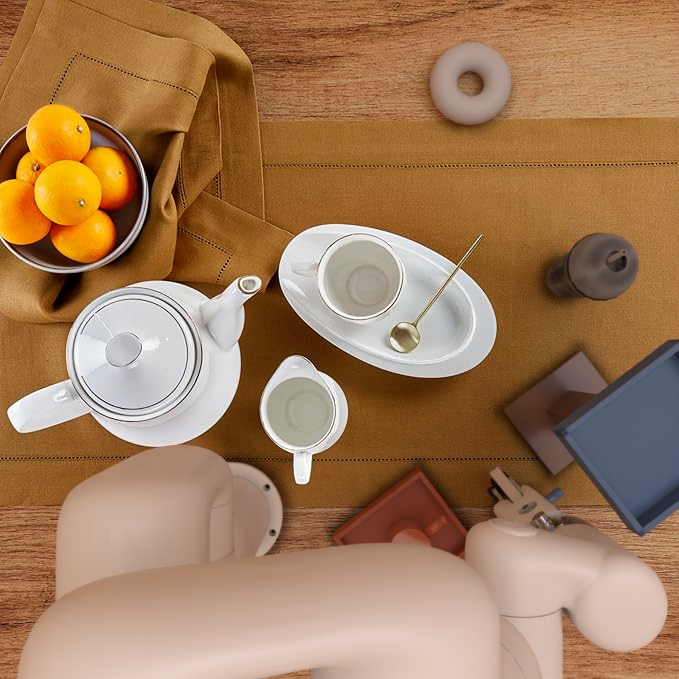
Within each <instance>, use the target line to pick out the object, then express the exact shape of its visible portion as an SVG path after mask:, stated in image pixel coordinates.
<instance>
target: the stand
mask: <svg viewBox="0 0 679 679" xmlns="http://www.w3.org/2000/svg"><path fill="white" fill-rule="evenodd" d="M609 385H610V384H608V382H607V381H606V380H605V378H604V377H603V376H602V375H601V374H600V372H599V371H598V370H597V369H596V367H595V366H594V364H593V363H592V362H591V361H590V359H589V358H588V356H586V354H585V353H584V351H583V350H577V351H576V352H575V353H573V354H572V355H571V356H569V357H568V358H567V359H566V360H564V361H563V362H562V363H561V364H559V365H558V366H557V367H555V368H554V369H553V370H551V371H550V372H548V373H547V374H546V375H545V376H544V377H542V378H541V379H539V380H538V381H536V383H534V384H533V385H531V387H529V388H527V390H525V391H524V392H523V393H521V394H520V395H519V396H518V397H516V398H515V399H513V400H512V401H510V403H508V404H507V405H506V406H504V407H502V409H501V411H502V413H503V414H504V415H505V416H506V418H507V419H508V420H509V421H510V423H511V424H512V425H513V426H514V428H515V429H516V431H517V432H518V433H519V435H520V436H521V437H522V439H524V441H525V442H526V444H527V445H528V446H529V447H530V449H531V450H532V452H534V454H535V455H536V457H537V458H538V459H539V460H540V462H541V463H542V464H543V465H544V467H545V469H546V470H547V471H548V472H549V474H550V475H551V476H553V477H554V476H556V475H558V474H559V473H560V472H561V471H563V470H564V469H565V468H566V467H567V466H569V465H570V464H572V463H573V462H574V461H575V459H574V458H573V457H572V455H571V454H570V453H569V451H568V450H567V449H566V448H565V446H564V445H563V444H562V442H561V441H560V440H559V438H558V437H557V436H556V435H555V433H554V432H553V431H552V428H554V427H555V426H556V425H558V424H559V423H560V422H562V421H563V420H564V419H566V418H567V417H568V416H569V415H571V414H572V413H573V412H575V411H576V410H577V409H579V408H580V407H581V406H582V405H584V404H585V403H586V402H588V401H589V400H590V399H592V398H593V397H594V396H596V395H597V394H598V393H599V392H601V391H602V390H603V389H605V388H606V387H607V386H609Z"/></svg>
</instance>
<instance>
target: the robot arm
mask: <svg viewBox="0 0 679 679" xmlns="http://www.w3.org/2000/svg"><path fill="white" fill-rule="evenodd" d="M487 473H488V475H489V476H490V479H489V481H490V482H489V483H490V485H491V486H489V488H487V490H486V492H487V493H488V494H489V495H490V496H491V497H492V498H493V499H494V500H495V501H497V503H495V504H494V506H493V513H494V515H495V516H496V517H495V518H494V517H493V518H490V519H487V520H484V521H481V522H478V523H476V524H474V525H473V526H471V528H470V529H469V530H468V534H467V537H466V543H465V557H464V559H463V558H462V559H461V558H459V557H457V556H455V555H453V554H451V553H449V552H446V551H443V550H440V549H437V548H433V547H429V546H424V545H418V544H411V543H364V544H352V545H343V546H338V545H335V546H326V547H319V548H310V549H304V550H297V551H295V550H294V551H287V552H279V553H273V554H267V553H268V552H269V551H270V550H271V548H272V547H273V546H274V544H275V543H276V541H277V539H278V537H279V535H280V533H281V531H282V526H283V521H284V506H283V502H282V497H281V494H280V492H279V491H278V487H277V486H276V485H275V483H274V482H273V481H272V479H271V478H270V477H269V476H268V475H267V474H266V473H265V472H263V471H262V470H260V469H259V468H257V467H255V466H253V465H251V464H248V463H244V462H240V461H226V460H225V459H224V458H223V457H222V456H221V455H220V454H218V453H217V452H216V451H213V450H211V449H208V448H205V447H202V446H198V445H191V444H169V445H162V446H158V447H153V448H150V449H146V450H144V451H143V450H142V451H141V452H138V453H136V454H134V455H131V456H130V457H128V458H125V459H123V460H121V461H119V462H117V463H115V464H113V465H111V466H109V467H108V468H105V469H103V470H102V471H99V472H98V473H96V474H94V475H91V476H89V477H88V478H86V479H85V480H83V481H82V482H80V483H79V484H77V485H76V486H74V487H73V488H72V489H71V491H69V492H68V494H67V496H66V497H65V498H64V501H63V503H62V504H61V509H60V511H59V515H58V520H57V524H56V533H55V537H56V538H55V599H54V600H55V601H54V602H53V603H52V604H50V606H48V607H47V608H46V609H45V610H44V611H43V612H42V613H41V614H40V616H39V617H38V619H36V621H35V623H33V626H32V628H31V629H30V632H29V635H28V637H27V639H26V641H25V643H24V646H23V647H22V650H21V656H20V658H19V663H18V667H17V677H16V679H266V678H270V677H276V676H281V675H285V674H290V673H296V672H300V671H305V670H310V671H309V677H310V678H309V679H564V657H563V656H564V638H563V637H564V635H563V615H564V616H565V617H566V618H567V619H568V620H569V621H570V623H571V624H572V625H573V626H574V628H576V630H577V631H579V633H580V634H581V635H582V636H583V637H584V638H585V639H587V640H588V642H590V643H591V644H593V645H595V646H597V647H599V648H601V649H602V650H603V649H604V650H607V651H610V652H617V653H630V652H634V651H637V650H640V649H641V648H645V647H646V646H647V645H649V644H650V643H651V642H653V641H654V640H655V639H656V638H657V636H658V635H659V634H660V633H661V631H662V629H663V628H664V626H665V623H666V620H667V617H668V610H669V607H668V606H669V605H668V604H669V603H668V602H669V601H668V597H667V591H666V589H665V586H664V584H663V582H662V580H661V578H660V577H659V575H658V573H656V571H655V570H654V569H653V568H652V567H651V566H650V565H649V564H648V563H647V562H645V561H644V560H643V559H641V558H640V557H639V556H637V555H636V554H634V553H633V552H632V551H630V550H628V549H627V548H626V547H624V546H623V545H621V544H620V543H618V542H617V541H615V539H612V538H611V537H610V536H608V535H607V534H606V533H604V532H602V531H601V530H600V529H598V528H597V527H595V526H594V525H592V524H591V523H590V522H588V521H587V520H586V519H585V518H584V519H583V518H582V517H579V516H576V515H572V514H563V512H561V510H559V508H557V506H556V505H554V504H551V503H550V502H549V501H548V500H547V499H545V498H544V497H545V496H543V495H542V494H541V493H539V491H537V490H536V489H534V488H533V487H532V486H530V485H527V484H521V485H519V482H518V481H517V480H516V479H515V478H514V477H512V476H511V475H509V474H508V473H507V472H506V471H503V470H501V469H500V467H499V466H498V465H496V466H494V467H492V469H490V470H489V471H488V472H487ZM267 485H268V487H266V486H267ZM506 495H507V497H508V499H507V500H505V499H504V498H503V497H505V496H506ZM272 531H274V532H272Z"/></svg>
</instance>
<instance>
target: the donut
mask: <svg viewBox="0 0 679 679" xmlns="http://www.w3.org/2000/svg"><path fill="white" fill-rule="evenodd" d="M469 72H471V73H475V74H477V75H478V76H479V77H480V78H481V80H482V82H483V88H482V90H481V91H480V92H479V93H478V94H476V95H467V94H465V93H463V92H462V91H461V90H460V88H459V86H458V79H459V77H460V76H461V75H462V74H464V73H469ZM512 85H513V79H512V72H511V68H510V67H509V65H508V63H507V61H506V59H505V57H504V56H503V55H502V54H501V53H499V51H498V50H496V48H494V47H491V46H489V45H487V44H486V43H483V42H482V43H481V42H476V41H467V42H461V43H458V44H455V45H453V46H451V47H449V48H448V49H446V50H445V51H444V52H443V53H442V54H441V55H440V56H439V57H438V58H437V60H436V61H435V63H434V65H433V67H432V69H431V71H430V77H429V91H430V98H431V100H432V101H433V104H434V106H435V107H436V109H437V110H438V112H440V113H441V114H442V115H443V116H444V117H445V118H446V119H448V120H450V121H452V122H453V123H456V124H460V125H465V126H473V125H481V124H484V123H486V122H488V121H490V120H491V119H494V118H495V117H496V116H497V115H498V114H499V113H500V112H501V111H502V110H503V109H504V108H505V106H506V104H507V102H508V100H509V99H510V96H511V91H512Z"/></svg>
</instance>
